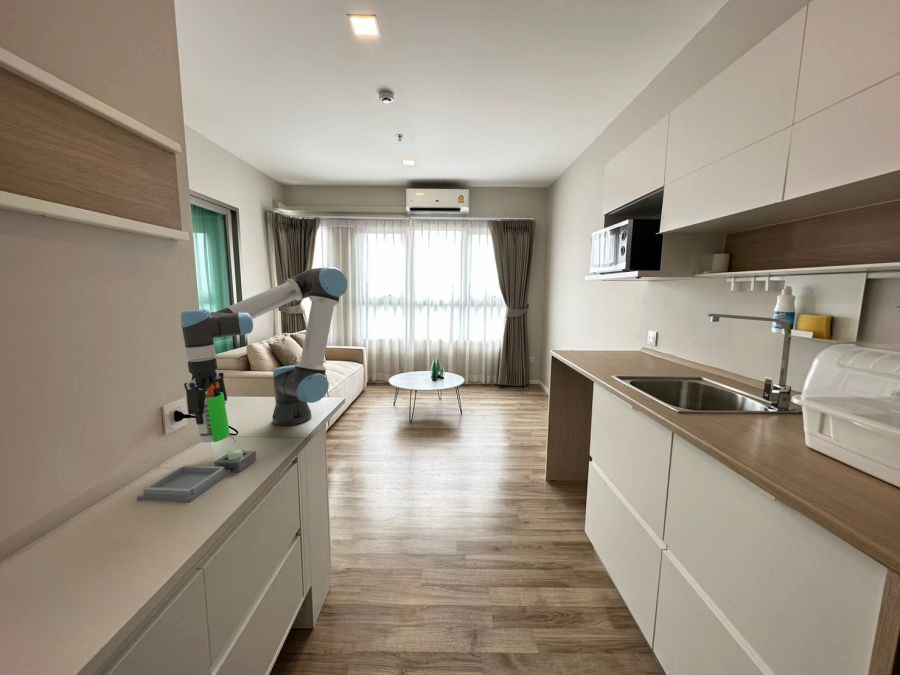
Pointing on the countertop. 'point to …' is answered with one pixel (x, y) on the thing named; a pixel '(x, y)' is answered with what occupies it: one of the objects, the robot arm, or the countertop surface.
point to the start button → (235, 454)
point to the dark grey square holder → (236, 461)
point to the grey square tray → (184, 483)
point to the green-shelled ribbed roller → (215, 416)
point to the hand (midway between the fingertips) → (212, 428)
